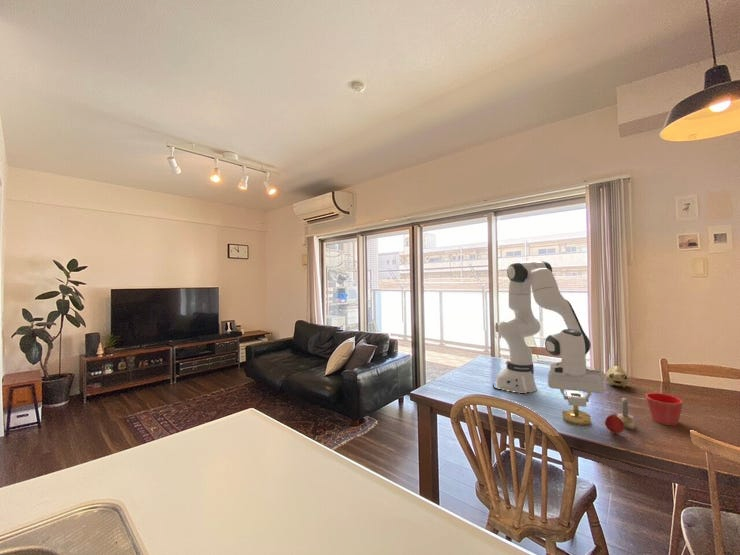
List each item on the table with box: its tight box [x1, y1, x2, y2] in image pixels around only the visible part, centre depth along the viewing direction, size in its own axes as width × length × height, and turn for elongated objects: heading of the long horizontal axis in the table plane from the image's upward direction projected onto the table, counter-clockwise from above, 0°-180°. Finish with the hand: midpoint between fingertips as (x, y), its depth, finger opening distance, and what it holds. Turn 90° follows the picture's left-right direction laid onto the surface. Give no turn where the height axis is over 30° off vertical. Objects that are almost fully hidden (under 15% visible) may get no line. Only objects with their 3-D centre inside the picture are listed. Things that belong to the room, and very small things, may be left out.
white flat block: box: [565, 390, 587, 408], centre depth 132 cm, size 6×9×3 cm, turn 153°
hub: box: [562, 405, 592, 427], centre depth 132 cm, size 10×10×8 cm
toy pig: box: [605, 365, 630, 388], centre depth 166 cm, size 10×12×11 cm
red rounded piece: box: [604, 413, 625, 435], centre depth 120 cm, size 6×6×8 cm
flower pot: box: [645, 392, 684, 426], centre depth 127 cm, size 11×11×10 cm
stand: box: [617, 397, 635, 430], centre depth 125 cm, size 5×5×11 cm
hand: (575, 400), depth 132 cm, fingers closed on white flat block, 6 cm apart
